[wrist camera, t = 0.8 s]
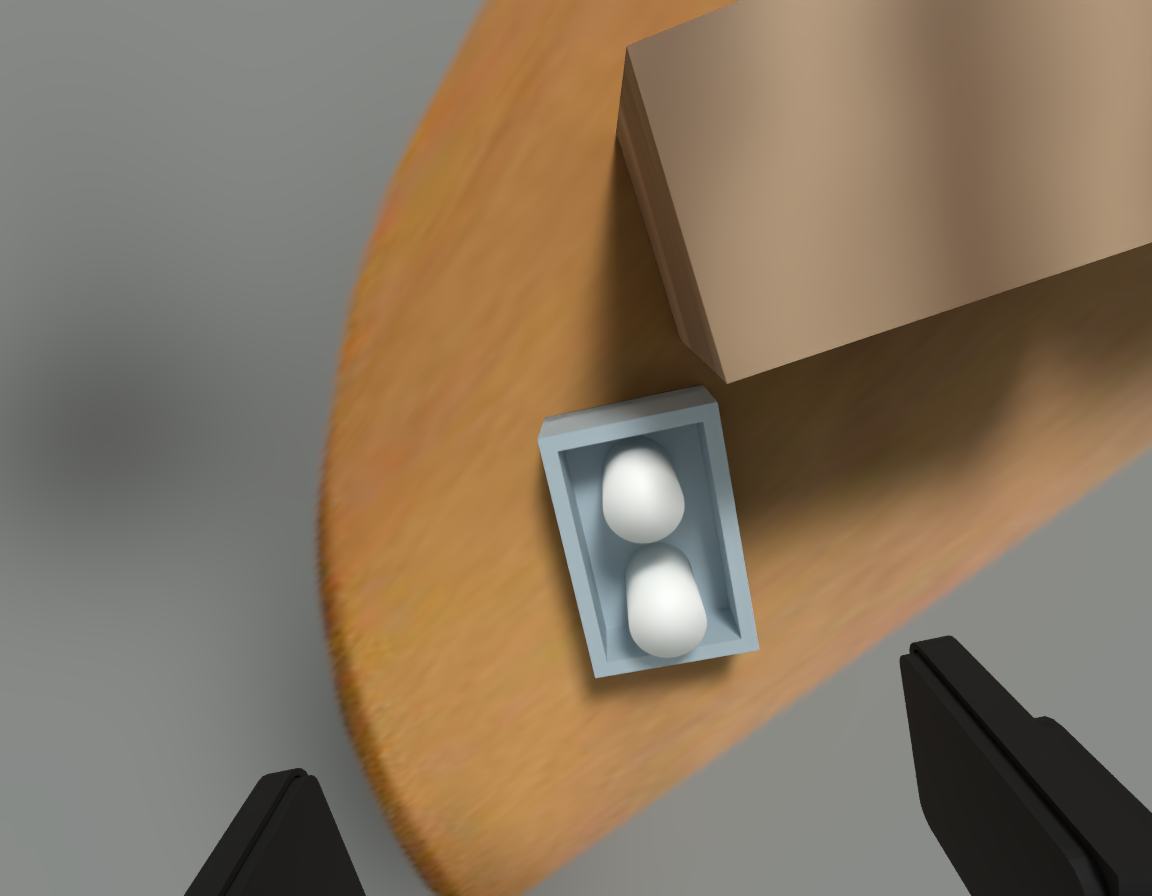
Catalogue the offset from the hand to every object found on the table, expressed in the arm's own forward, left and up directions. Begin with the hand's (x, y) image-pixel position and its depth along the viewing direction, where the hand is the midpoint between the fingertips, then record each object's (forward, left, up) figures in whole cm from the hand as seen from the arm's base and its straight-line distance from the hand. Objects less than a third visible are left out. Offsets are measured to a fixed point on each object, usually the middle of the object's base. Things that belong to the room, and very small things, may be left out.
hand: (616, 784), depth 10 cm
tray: (-1, +3, -18) cm, 18 cm away
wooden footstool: (-12, -8, -18) cm, 23 cm away
